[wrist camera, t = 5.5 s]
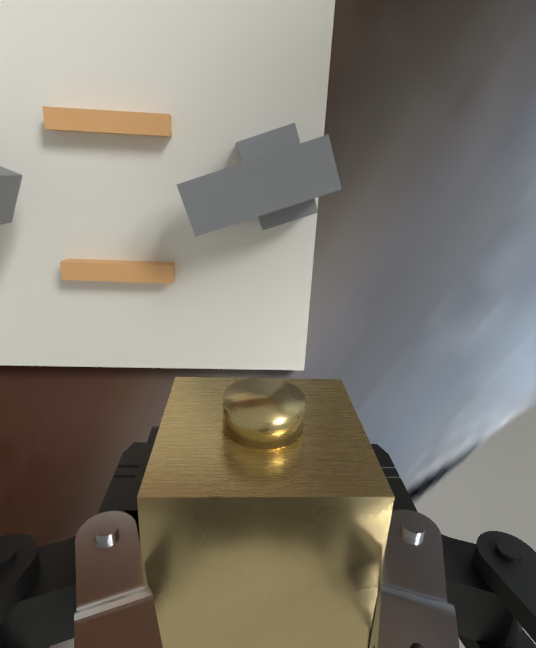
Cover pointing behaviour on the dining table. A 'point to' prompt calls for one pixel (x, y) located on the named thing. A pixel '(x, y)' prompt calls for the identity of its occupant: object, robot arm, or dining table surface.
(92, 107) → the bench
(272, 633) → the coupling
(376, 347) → the dining table surface
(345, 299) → the dining table surface
